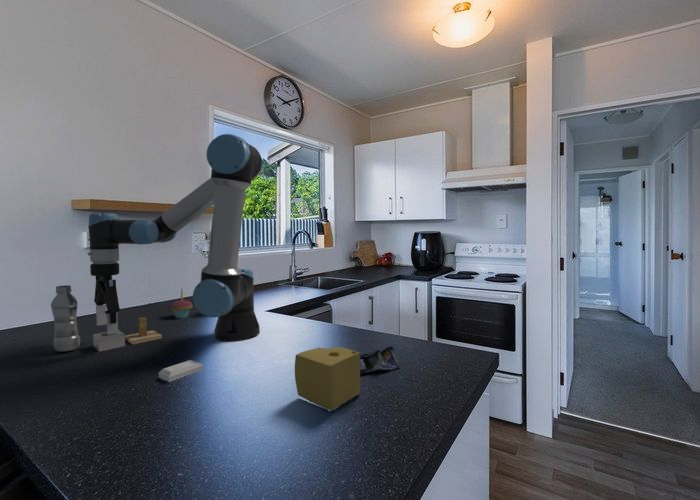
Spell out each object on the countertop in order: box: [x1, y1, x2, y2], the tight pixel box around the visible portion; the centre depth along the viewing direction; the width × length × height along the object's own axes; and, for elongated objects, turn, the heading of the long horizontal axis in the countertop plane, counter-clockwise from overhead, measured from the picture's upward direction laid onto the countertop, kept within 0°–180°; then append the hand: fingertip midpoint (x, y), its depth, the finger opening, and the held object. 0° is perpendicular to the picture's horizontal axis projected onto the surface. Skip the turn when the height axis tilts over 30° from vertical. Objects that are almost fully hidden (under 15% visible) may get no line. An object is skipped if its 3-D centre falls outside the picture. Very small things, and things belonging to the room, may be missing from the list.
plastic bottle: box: [50, 284, 81, 353], centre depth 110 cm, size 6×7×20 cm
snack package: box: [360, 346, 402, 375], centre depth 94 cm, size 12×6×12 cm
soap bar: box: [158, 359, 204, 383], centre depth 92 cm, size 5×9×3 cm, turn 144°
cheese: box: [294, 346, 361, 410], centre depth 78 cm, size 10×11×10 cm
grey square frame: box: [92, 329, 126, 352], centre depth 114 cm, size 7×7×4 cm
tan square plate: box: [125, 316, 163, 345], centre depth 122 cm, size 9×9×7 cm
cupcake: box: [170, 289, 194, 319], centre depth 151 cm, size 9×8×12 cm
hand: (107, 329), depth 114 cm, fingers open, 13 cm apart
